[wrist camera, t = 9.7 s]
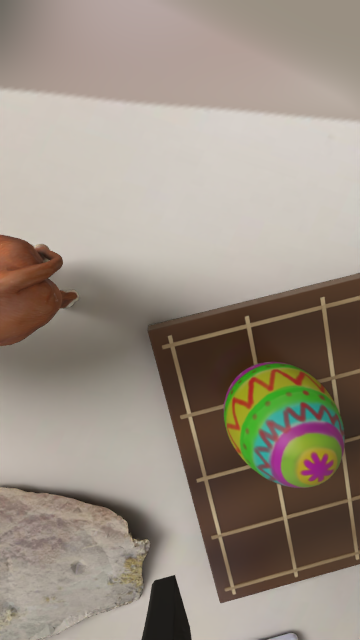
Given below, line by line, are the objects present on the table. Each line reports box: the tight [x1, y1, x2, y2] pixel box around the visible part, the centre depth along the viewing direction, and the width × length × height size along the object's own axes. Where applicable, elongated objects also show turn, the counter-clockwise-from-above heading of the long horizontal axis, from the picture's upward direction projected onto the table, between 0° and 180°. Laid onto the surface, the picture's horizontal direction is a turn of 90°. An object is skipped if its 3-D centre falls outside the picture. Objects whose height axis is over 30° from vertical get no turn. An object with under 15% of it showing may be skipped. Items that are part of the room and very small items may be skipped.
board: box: [148, 273, 360, 603], centre depth 19 cm, size 18×18×1 cm
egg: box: [224, 362, 345, 488], centre depth 14 cm, size 5×5×6 cm
